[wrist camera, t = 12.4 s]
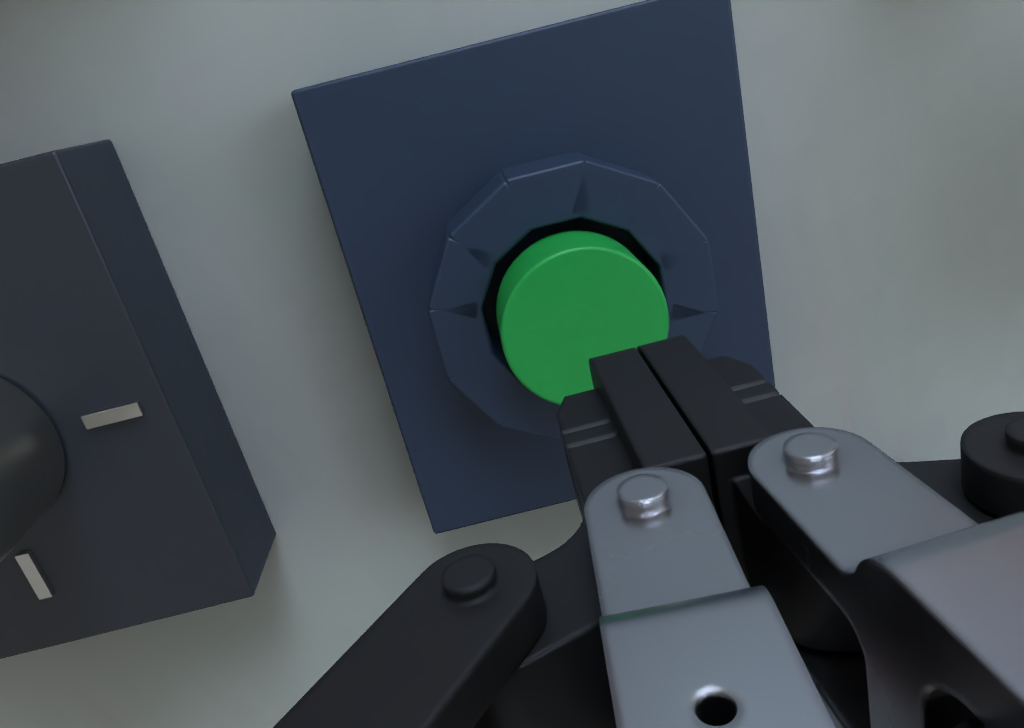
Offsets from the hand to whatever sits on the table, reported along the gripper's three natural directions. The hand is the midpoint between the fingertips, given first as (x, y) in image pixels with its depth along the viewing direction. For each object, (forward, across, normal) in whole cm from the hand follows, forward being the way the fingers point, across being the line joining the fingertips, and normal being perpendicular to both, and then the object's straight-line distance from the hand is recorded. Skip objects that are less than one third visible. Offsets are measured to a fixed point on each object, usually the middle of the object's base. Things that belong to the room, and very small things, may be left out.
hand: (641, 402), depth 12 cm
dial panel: (+10, +15, 0) cm, 18 cm away
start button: (+6, 0, 0) cm, 6 cm away
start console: (+10, 0, 0) cm, 10 cm away
